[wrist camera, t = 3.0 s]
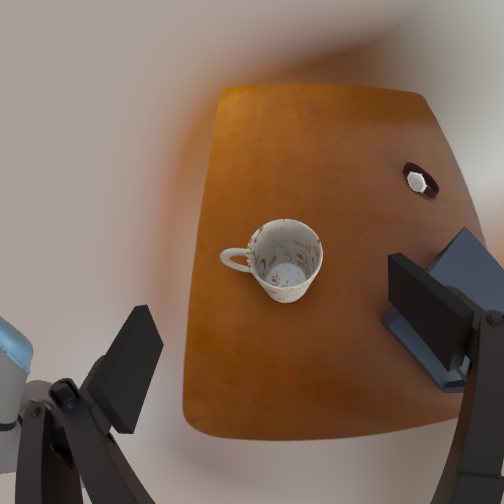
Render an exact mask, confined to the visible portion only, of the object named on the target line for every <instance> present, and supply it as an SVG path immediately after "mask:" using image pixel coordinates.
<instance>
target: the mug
mask: <svg viewBox="0 0 504 504" xmlns="http://www.w3.org/2000/svg"><path fill="white" fill-rule="evenodd" d="M231 256H247V263H248V266H245V265H240V264H237V263H235V262H233V261H232V260H230V257H231ZM322 257H323V251H322V245H321V242H320V240H319V238H318V236H317V235H316V233H315V232H314V231H313V230H312V229H311V228H310V227H308V226H307V225H305V224H303V223H301V222H298V221H295V220H289V219H280V220H275V221H272V222H269V223H267V224H265V225H263V226H262V227H260V228H259V229H258V230H257V231H256V232H255V233H254V234H253V236H252V237H251V239H250V241H249V243H248V247H247V249H240V248H230V249H226V250H224V251H223V252H222V253H221V254H220V259H221V261H222V262H223V263H224V264H225V265H227V266H229V267H231V268H234V269H237V270H239V271H242V272H252V274H253V276H254V277H255V278H256V280H257V281H258V282H259V283H260V285H261V286H262V287H263V288H264V290H265V291H266V292H267V293H268V295H269V296H270V297H271V298H273V299H274V300H276V301H278V302H282V303H290V302H294V301H296V300H298V299H299V298H301V297H302V296H303V294H304V293H305V292H306V290H307V289H308V287H309V285H310V284H311V282H312V281H313V279H314V278H315V276H316V274H317V273H318V271H319V269H320V266H321V263H322Z"/></svg>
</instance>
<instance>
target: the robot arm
mask: <svg viewBox="0 0 504 504" xmlns="http://www.w3.org/2000/svg"><path fill="white" fill-rule="evenodd" d="M388 281H389V301H390V302H391V303H392V304H393V306H394V307H395V308H396V309H397V310H398V311H399V312H400V314H401V315H402V316H403V317H404V318H405V320H406V321H407V322H408V323H409V324H410V325H411V327H412V328H413V329H414V330H415V331H416V333H417V334H418V335H419V336H420V337H421V339H422V340H423V341H424V342H425V344H426V345H427V346H428V347H429V348H430V350H431V351H432V352H433V353H434V355H435V356H436V357H437V359H438V360H439V361H440V362H441V364H442V365H443V366H444V367H445V369H446V370H447V371H448V372H451V371H453V370H455V369H457V368H459V367H461V366H462V365H463V361H464V358H465V355H466V356H467V357H468V359H469V360H470V362H469V365H468V369H467V372H466V375H465V378H464V379H466V384H465V389H464V395H463V400H462V405H461V410H460V414H459V418H458V423H457V427H456V431H455V434H454V438H453V442H452V445H451V448H450V452H449V455H448V458H447V461H446V464H445V467H444V470H443V473H442V476H441V479H440V481H439V484H438V486H437V489H436V491H435V494H434V496H433V499H432V501H431V503H430V504H500V503H501V500H502V495H503V492H504V477H503V476H501V469H502V464H503V459H504V313H502V312H500V311H497V310H488V311H485V310H484V309H483V308H481V307H480V306H479V305H478V304H477V303H475V302H474V301H473V300H472V299H469V297H468V296H467V295H464V293H463V292H461V291H460V290H459V289H458V288H455V287H453V286H450V285H447V286H444V285H442V284H441V283H440V282H438V281H437V280H436V279H435V278H433V277H432V276H431V275H429V274H428V273H427V272H426V271H424V270H423V269H422V268H420V267H419V266H418V265H416V264H415V263H414V262H412V261H411V260H410V259H408V258H407V257H406V256H404V255H403V254H402V253H400V252H399V253H395V254H391V255H388ZM163 346H164V345H163V342H162V340H161V338H160V335H159V333H158V330H157V328H156V326H155V323H154V321H153V318H152V316H151V314H150V311H149V308H148V306H147V305H141V306H135V307H134V309H133V311H132V312H131V314H130V315H129V317H128V319H127V320H126V322H125V323H124V325H123V326H122V328H121V330H120V331H119V333H118V335H117V336H116V338H115V339H114V341H113V343H112V345H111V346H110V348H109V350H108V351H107V353H106V355H104V356H103V355H102V357H100V358H99V359H98V360H97V361H96V362H95V363H94V365H93V367H92V368H91V370H90V372H89V373H88V376H87V377H86V379H85V380H84V382H83V384H82V385H81V387H80V389H78V388H77V386H76V385H75V383H74V382H73V380H72V379H69V378H63V379H61V380H58V381H57V382H55V383H54V384H53V385H52V386H51V387H50V389H49V391H48V395H49V397H50V398H51V399H52V401H53V402H54V403H55V405H56V406H57V407H56V408H54V407H53V406H51V405H50V404H49V403H47V402H45V401H42V400H37V399H34V398H31V399H30V400H26V401H23V402H21V399H22V395H23V391H24V387H25V384H26V380H27V376H28V374H29V373H30V370H29V368H30V364H31V360H32V356H33V347H32V345H31V343H30V341H29V340H28V339H27V338H26V337H25V336H24V335H23V334H22V333H21V332H20V331H18V330H17V329H16V328H15V327H13V326H12V325H11V324H9V323H8V322H7V321H5V320H4V319H3V318H2V317H0V474H2V473H11V472H16V485H15V486H16V487H15V504H83V497H82V490H81V482H80V476H81V479H82V481H83V484H84V486H85V488H86V491H87V493H88V495H89V497H90V500H91V502H92V504H155V502H154V501H153V500H152V498H151V497H150V495H149V494H148V493H147V491H146V490H145V488H144V487H143V485H142V484H141V482H140V481H139V479H138V478H137V476H136V475H135V473H134V471H133V470H132V468H131V467H130V465H129V463H128V462H127V460H126V458H125V457H124V455H123V453H122V452H121V450H120V448H119V446H118V444H117V443H116V441H115V439H114V437H113V435H112V434H111V433H110V432H109V431H110V428H111V426H113V427H114V428H115V430H116V431H117V432H118V433H122V434H133V433H134V430H135V427H136V424H137V421H138V417H139V414H140V412H141V409H142V406H143V403H144V400H145V397H146V394H147V391H148V388H149V385H150V382H151V379H152V376H153V374H154V371H155V368H156V365H157V363H158V359H159V357H160V354H161V351H162V349H163Z"/></svg>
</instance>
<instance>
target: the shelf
mask: <svg viewBox="0 0 504 504" xmlns="http://www.w3.org/2000/svg"><path fill="white" fill-rule="evenodd" d="M426 272H427V273H428V274H429V275H431V276H432V277H433V278H435V279H436V280H437V281H438V282H440V283H441V284H442V285H444V286H447V285H450V286H453V287H455V288H458V289H459V290H460V291H461V292H463V293H464V295H467V296H468V297H469V299H472V300H473V301H474V302H475V303H477V304H478V305H479V306H480V307H481V308H483V309H484V310H485V311H488V310H497V311H500V312H502V313H504V270H503V268H502V267H501V266H500V265H499V263H498V262H497V261H496V260H495V259H494V258H493V257H492V255H491V254H490V253H489V252H488V251H487V250H486V249H485V247H484V246H483V245H482V244H481V243H480V242H479V241H478V240H477V239H476V238H475V237H474V236H473V234H472V233H471V232H470V231H469V230H468V229H467V228H466V227H465V226H464V227H463V228H462V229H461V231H460V232H459V233H458V234H457V235H456V236H455V237H454V239H453V240H452V241H451V242H450V243H449V244H448V245H447V246H446V247H445V248H444V249H443V250H442V252H441V253H440V254H439V255H438V256H437V257H436V259H435V260H434V261H433V262H432V264H431V265H430V266H429V267H428V268H427V270H426ZM381 322H382V323H383V324H384V325H385V326H386V327H387V328H388V330H389V331H390V332H391V333H392V334H393V335H394V336H395V337H396V338H397V339H398V341H399V342H400V343H401V344H402V345H403V346H404V347H405V348H406V349H407V351H408V352H409V353H410V354H411V355H412V356H413V357H414V359H415V360H416V361H417V362H418V363H419V364H420V365H421V366H422V368H423V369H424V370H425V371H426V372H427V373H428V375H429V376H430V377H431V378H432V379H433V380H434V382H435V383H436V384H437V385H438V386H439V387H440V389H441V390H442V391H443V392H444V393H460V392H464V389H465V384H466V379H464V378H465V375H466V372H467V369H468V365H469V362H470V360H469V359H468V357H467V356H466V355H465V358H464V361H463V365H462V366H461V367H459V368H457V369H455V370H453V371H451V372H448V371H447V370H446V369H445V367H444V366H443V365H442V364H441V362H440V361H439V360H438V359H437V357H436V356H435V355H434V353H433V352H432V351H431V350H430V348H429V347H428V346H427V345H426V344H425V342H424V341H423V340H422V339H421V337H420V336H419V335H418V334H417V333H416V331H415V330H414V329H413V328H412V327H411V325H410V324H409V323H408V322H407V321H406V320H405V318H404V317H403V316H402V315H401V314H400V312H399V311H398V310H397V309H396V308H395V307H393V308H392V309H391V310H390V311H389V312H388V313H387V314H386V316H385V317H384V318H383V319H382V320H381ZM460 376H461V377H462V379H463V380H458V379H459V377H460ZM457 380H458V381H457Z"/></svg>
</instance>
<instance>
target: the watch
mask: <svg viewBox="0 0 504 504" xmlns="http://www.w3.org/2000/svg"><path fill="white" fill-rule="evenodd" d="M410 170H411V171H413V172H415V173H412V172H411V171H410ZM403 173H404V174H405V176H406V177H407V179H408V182H409V185H410V187H411V188H412V189H413V190H414V191H417V192H420V191H421V192H422V193H424V194H425V195H426V196H428V197H430V198H434V197H435V196H436V195H437V193H438V192H439V187H438V185H437V183H436V182H435V181H434V179H433V178H432V177H431V176H430V175H429V174H428V173H427V172H425V171H424V170H423V169H422V168H420V167H419V166H417V165H416V164H413V163H410V162H407V163H406V164H405V166H404V169H403ZM425 182H426V183H427V184H428V185H429V186H430V187H431V188H432V190H433V191H432V190H431V189H429V188H428V187H427V185H425Z"/></svg>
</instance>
